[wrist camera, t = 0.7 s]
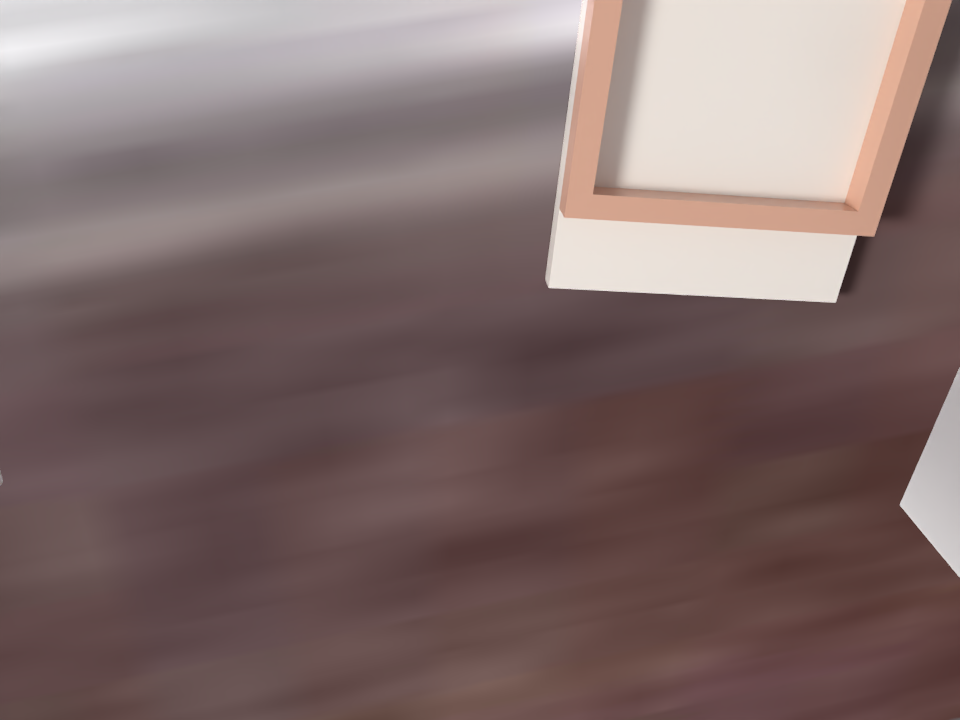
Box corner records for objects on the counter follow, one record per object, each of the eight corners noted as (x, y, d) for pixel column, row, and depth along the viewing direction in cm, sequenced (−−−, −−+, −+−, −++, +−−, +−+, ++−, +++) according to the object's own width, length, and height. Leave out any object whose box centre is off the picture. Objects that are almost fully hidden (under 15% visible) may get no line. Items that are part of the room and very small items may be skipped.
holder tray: (621, -297, 26) (638, -316, 24) (993, -248, 27) (1038, -262, 25) (545, 278, 35) (552, 299, 33) (825, 293, 36) (848, 313, 34)
